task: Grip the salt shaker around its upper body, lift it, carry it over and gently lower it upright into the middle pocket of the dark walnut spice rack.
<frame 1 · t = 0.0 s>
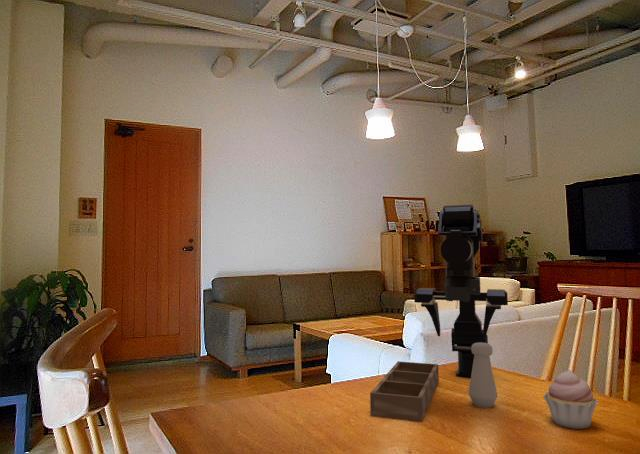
hand: (461, 337, 100), 15 cm above the table, tool pointing down, fingers open, 9 cm apart
cupcake: (571, 424, 90), on the table
salt shaker: (483, 405, 101), on the table
spice rack: (408, 397, 107), on the table
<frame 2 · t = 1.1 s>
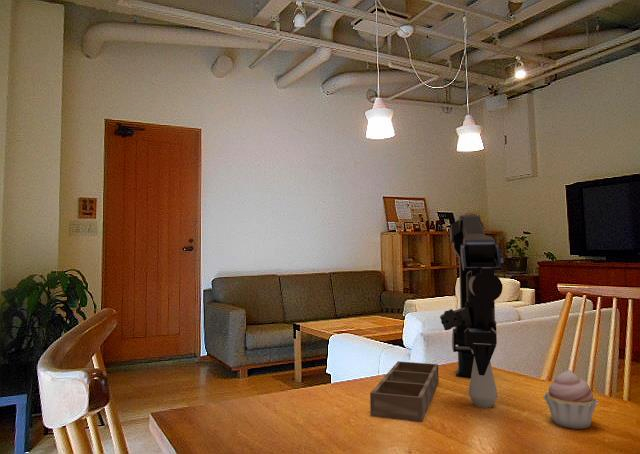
hand: (482, 369, 102), 7 cm above the table, tool pointing down, fingers open, 9 cm apart
nothing on the table moved.
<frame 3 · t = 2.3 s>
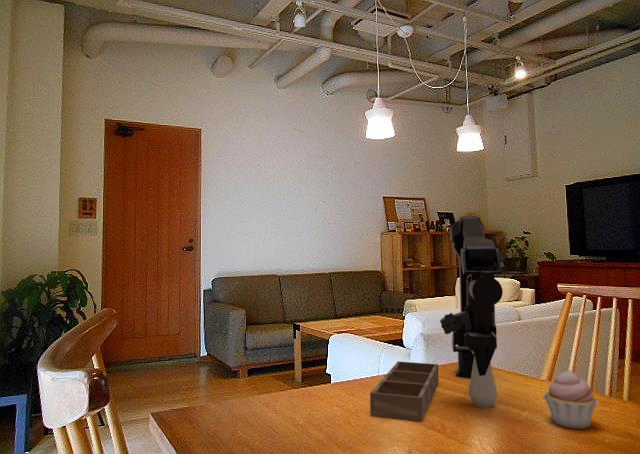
hand: (482, 373, 102), 7 cm above the table, tool pointing down, fingers closed on salt shaker, 3 cm apart
salt shaker: (483, 405, 101), on the table, touching gripper
everything else where it was.
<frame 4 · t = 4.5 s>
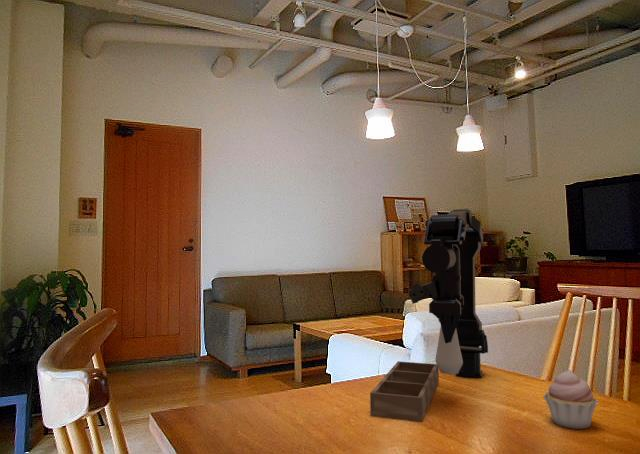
hand: (448, 341, 104), 13 cm above the table, tool pointing down, fingers closed on salt shaker, 3 cm apart
salt shaker: (449, 372, 104), point 6 cm above the table, touching gripper
everything else where it was.
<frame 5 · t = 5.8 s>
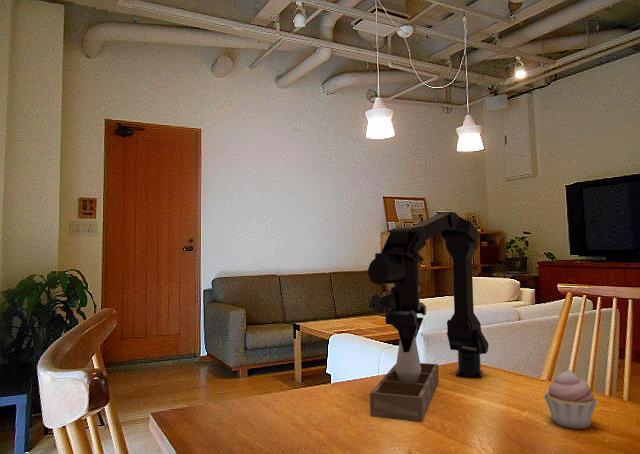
hand: (407, 351, 107), 10 cm above the table, tool pointing down, fingers closed on salt shaker, 3 cm apart
salt shaker: (408, 381, 107), point 4 cm above the table, touching gripper
everything else where it was.
when the fingers open (9 cm above the table, at t = 6.8 s): salt shaker drops 1 cm, resting on spice rack.
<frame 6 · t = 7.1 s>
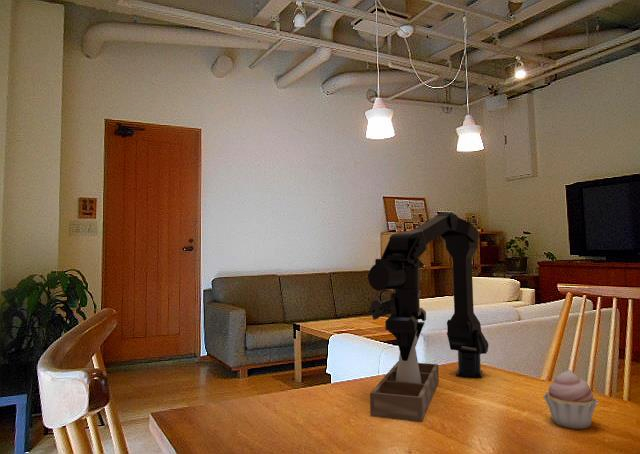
hand: (407, 357, 107), 9 cm above the table, tool pointing down, fingers open, 7 cm apart
salt shaker: (408, 392, 107), point 1 cm above the table, touching spice rack
everything else where it was.
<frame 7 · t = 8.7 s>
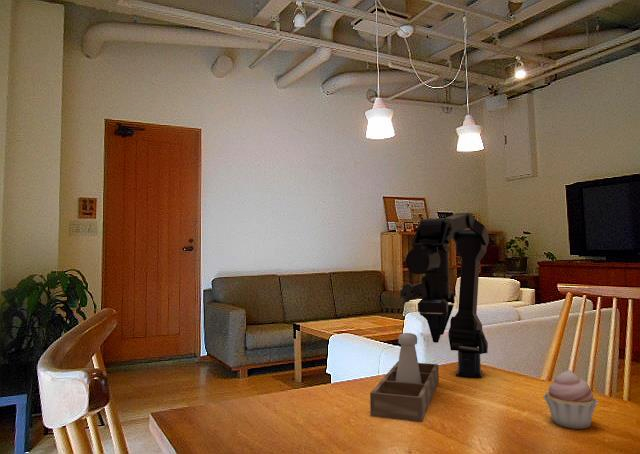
hand: (438, 338, 111), 13 cm above the table, tool pointing down, fingers open, 9 cm apart
nothing on the table moved.
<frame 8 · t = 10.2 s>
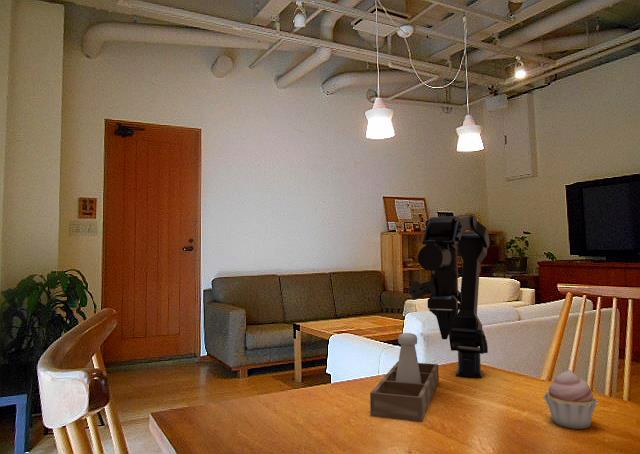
hand: (446, 335, 111), 13 cm above the table, tool pointing down, fingers open, 9 cm apart
nothing on the table moved.
at the end: salt shaker 0.1 cm off-centre on the spice rack, point 1.0 cm above the spice rack's base; salt shaker tilted 0°; the gripper is holding nothing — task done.
